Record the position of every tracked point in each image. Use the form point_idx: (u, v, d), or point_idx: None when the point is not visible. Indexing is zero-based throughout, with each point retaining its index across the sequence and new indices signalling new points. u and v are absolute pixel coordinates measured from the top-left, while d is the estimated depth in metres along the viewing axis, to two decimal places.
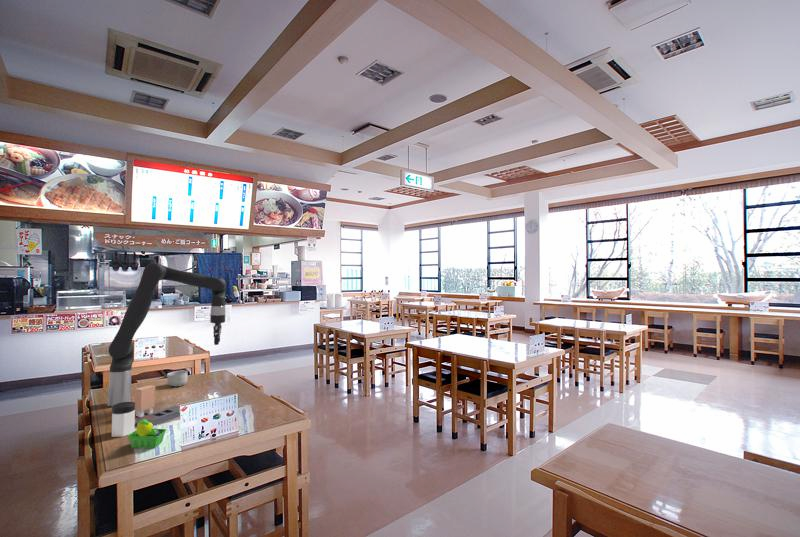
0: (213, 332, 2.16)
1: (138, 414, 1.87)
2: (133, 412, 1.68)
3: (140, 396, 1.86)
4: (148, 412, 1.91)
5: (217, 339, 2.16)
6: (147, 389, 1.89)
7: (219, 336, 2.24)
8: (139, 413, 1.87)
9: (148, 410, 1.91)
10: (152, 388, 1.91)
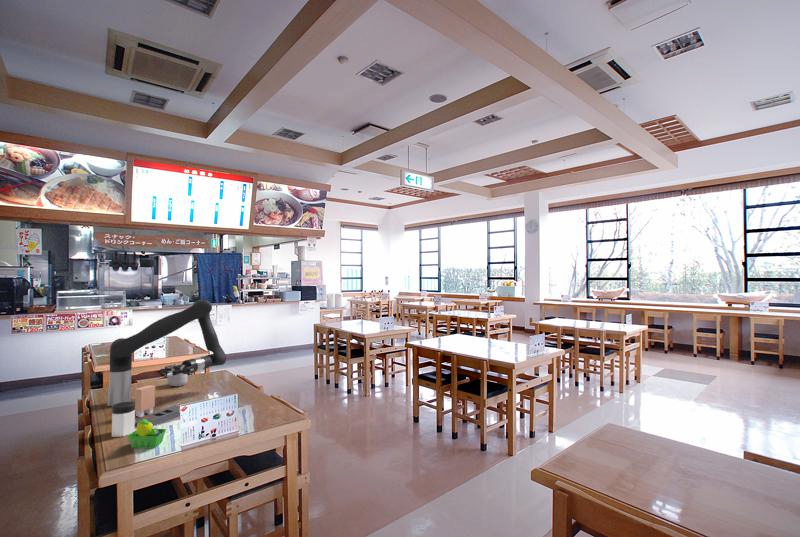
0: (183, 367, 2.06)
1: (138, 414, 1.87)
2: (133, 412, 1.68)
3: (140, 396, 1.86)
4: (148, 412, 1.91)
5: (179, 373, 2.02)
6: (147, 389, 1.89)
7: (166, 371, 2.05)
8: (139, 413, 1.87)
9: (148, 410, 1.91)
10: (152, 388, 1.91)
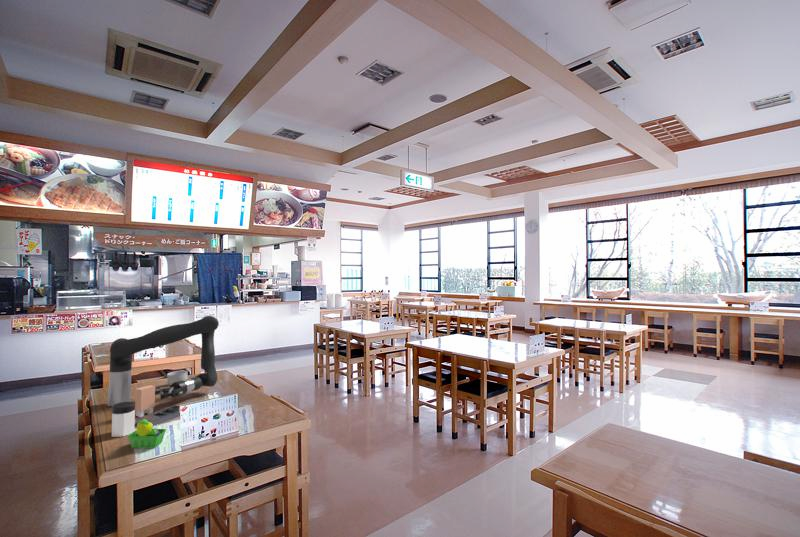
0: (172, 389, 2.00)
1: (138, 414, 1.87)
2: (133, 412, 1.68)
3: (140, 396, 1.86)
4: (148, 412, 1.91)
5: (167, 396, 1.96)
6: (147, 389, 1.89)
7: None
8: (139, 413, 1.87)
9: (148, 410, 1.91)
10: (152, 388, 1.91)
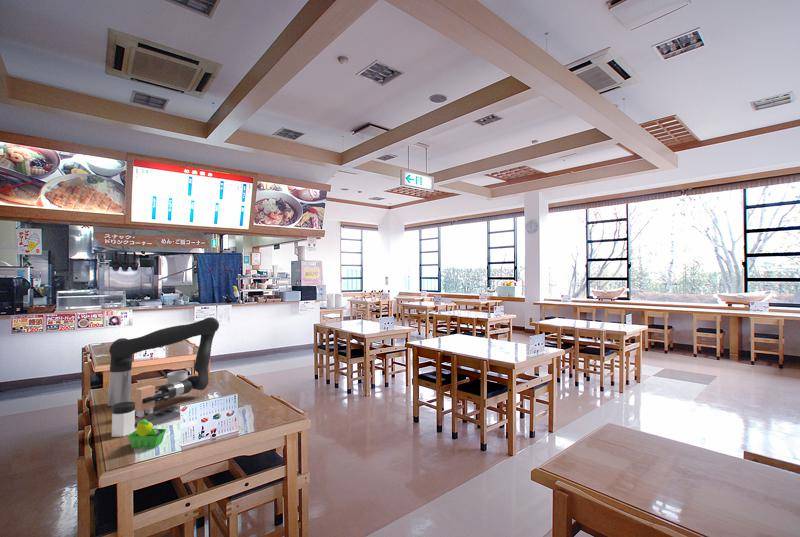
0: (157, 393, 1.93)
1: (138, 414, 1.87)
2: (133, 412, 1.68)
3: (140, 396, 1.86)
4: (148, 412, 1.91)
5: (150, 401, 1.89)
6: (147, 389, 1.89)
7: None
8: (139, 413, 1.87)
9: (148, 410, 1.91)
10: (152, 388, 1.91)
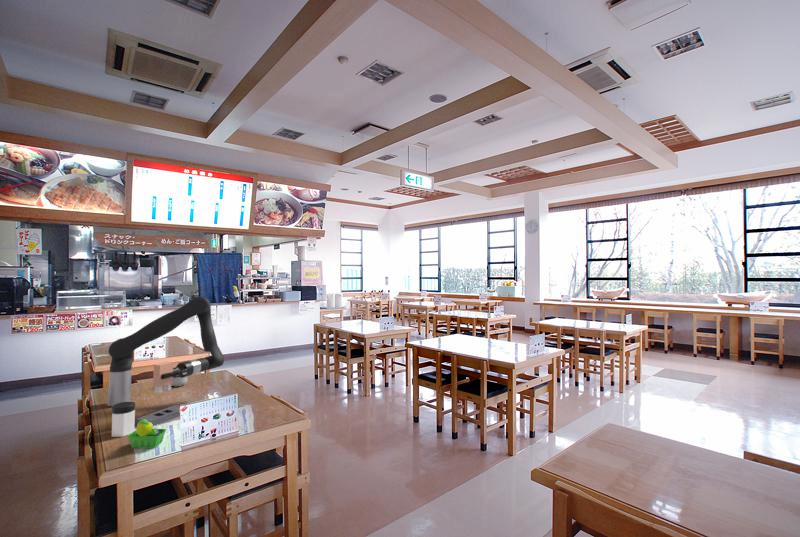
0: (175, 370, 1.90)
1: (157, 390, 1.84)
2: (133, 412, 1.68)
3: (159, 372, 1.83)
4: (166, 388, 1.88)
5: (168, 376, 1.86)
6: (165, 365, 1.86)
7: None
8: (158, 389, 1.84)
9: (166, 386, 1.88)
10: (170, 364, 1.88)
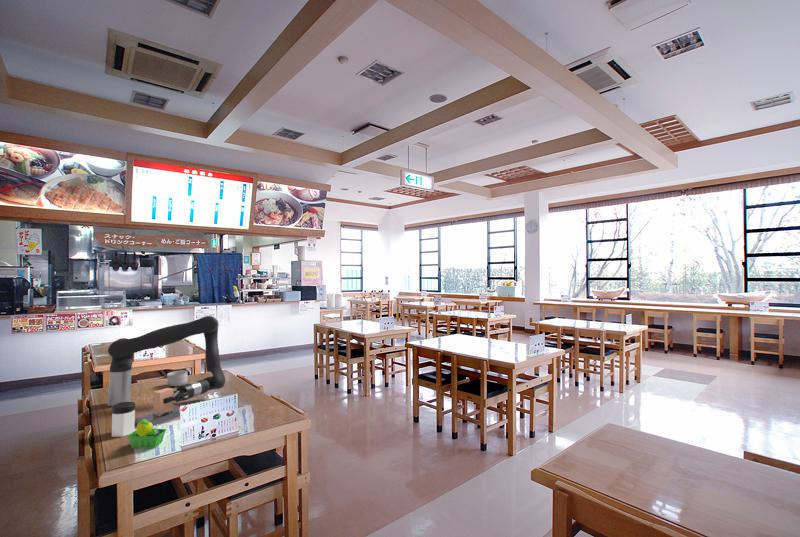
0: (176, 393, 1.89)
1: None
2: (133, 412, 1.68)
3: (159, 399, 1.82)
4: None
5: None
6: (165, 392, 1.85)
7: None
8: None
9: None
10: (170, 391, 1.87)
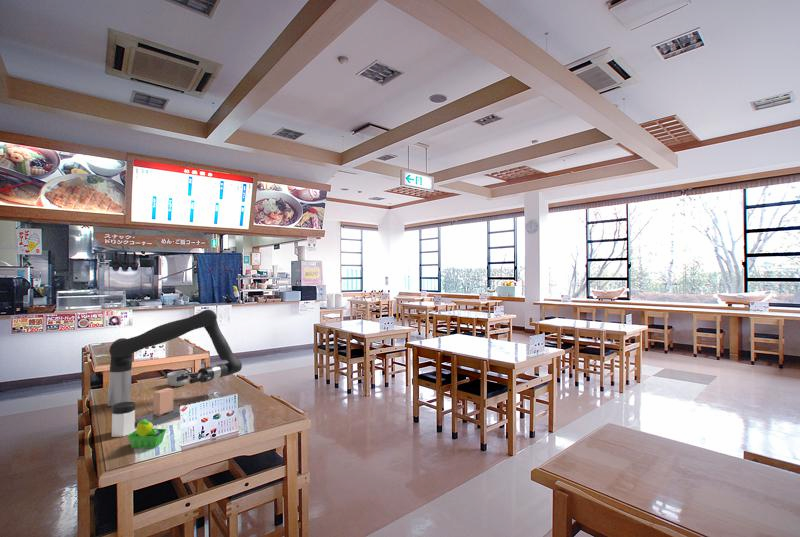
0: (200, 375, 2.01)
1: None
2: (133, 412, 1.68)
3: (159, 399, 1.82)
4: None
5: (196, 381, 1.97)
6: (166, 392, 1.85)
7: (182, 379, 2.01)
8: None
9: None
10: (170, 391, 1.87)
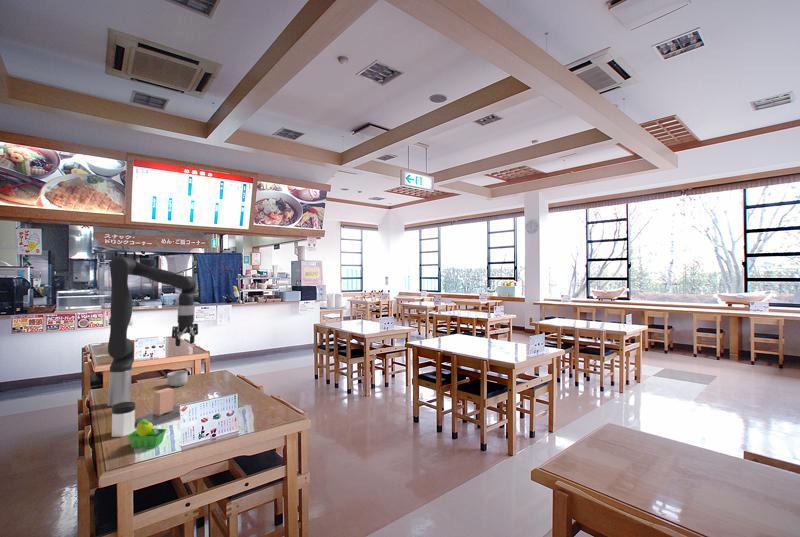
0: None
1: None
2: (133, 412, 1.68)
3: (159, 399, 1.82)
4: None
5: (177, 340, 2.04)
6: (166, 392, 1.85)
7: (192, 337, 2.13)
8: None
9: None
10: (170, 391, 1.87)
